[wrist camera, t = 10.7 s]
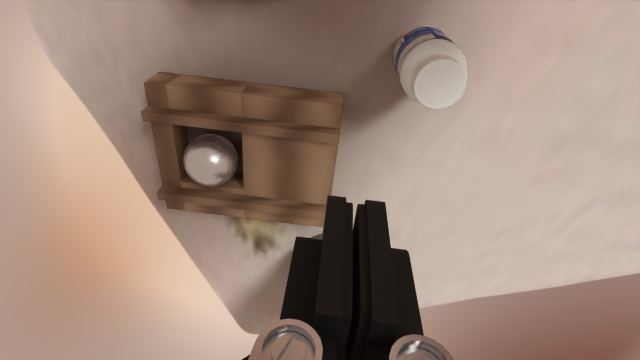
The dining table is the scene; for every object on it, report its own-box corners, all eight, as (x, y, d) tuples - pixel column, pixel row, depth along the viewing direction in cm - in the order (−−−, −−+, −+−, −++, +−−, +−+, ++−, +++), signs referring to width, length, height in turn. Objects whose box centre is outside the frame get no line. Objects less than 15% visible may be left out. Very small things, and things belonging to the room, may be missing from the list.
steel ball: (173, 166, 36) (173, 132, 40) (196, 203, 41) (195, 169, 45) (230, 148, 37) (225, 116, 41) (248, 187, 41) (241, 155, 45)
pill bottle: (457, 61, 36) (488, 95, 28) (408, 89, 38) (423, 129, 29) (434, 11, 33) (460, 33, 25) (383, 44, 35) (392, 74, 27)
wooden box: (343, 93, 38) (342, 111, 34) (328, 210, 47) (325, 235, 43) (159, 72, 39) (136, 87, 34) (178, 192, 47) (161, 215, 43)
